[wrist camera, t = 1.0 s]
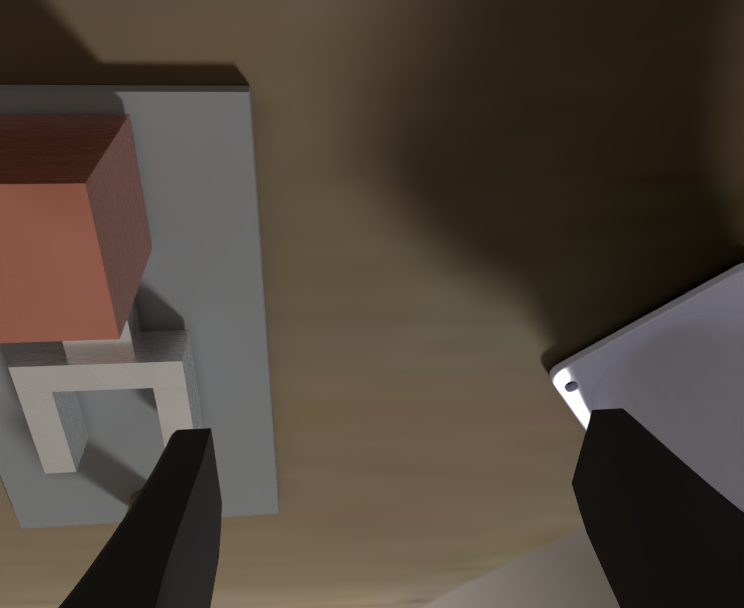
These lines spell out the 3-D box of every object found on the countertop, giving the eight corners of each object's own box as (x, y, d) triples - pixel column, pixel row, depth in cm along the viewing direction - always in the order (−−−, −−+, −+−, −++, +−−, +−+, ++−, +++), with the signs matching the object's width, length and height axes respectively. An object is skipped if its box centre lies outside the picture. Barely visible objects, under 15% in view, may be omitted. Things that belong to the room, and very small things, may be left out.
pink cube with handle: (204, 432, 24) (187, 538, 20) (59, 439, 23) (14, 548, 20) (156, 114, 18) (120, 182, 14) (-44, 114, 17) (-138, 185, 13)
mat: (279, 501, 28) (278, 513, 27) (26, 516, 27) (21, 528, 26) (249, 85, 18) (249, 92, 18) (-141, 84, 17) (-154, 91, 17)
